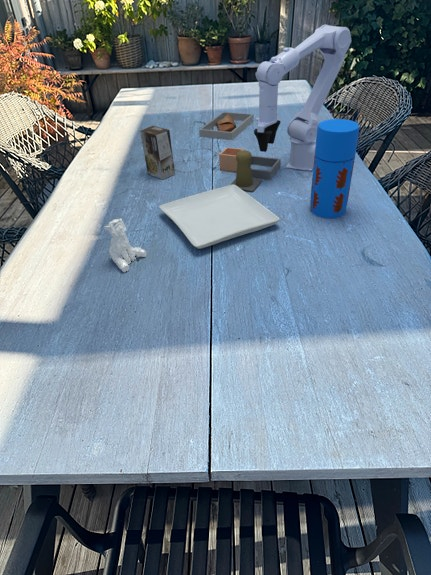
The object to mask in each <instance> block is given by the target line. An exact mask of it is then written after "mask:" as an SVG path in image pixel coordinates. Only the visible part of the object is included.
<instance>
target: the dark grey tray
mask: <svg viewBox="0 0 431 575" xmlns="http://www.w3.org/2000/svg"><path fill="white" fill-rule="evenodd" d="M228 114H230V115H231V117H232V118H233V120H234V121H242V122H241V123H240V124H238V126H237V125H236V128H235V129H234V130H233V131H232V132H225V131H219V130H214V129H213V128H215V127H217V125H216V123H217V122H218V121H220V120H221V119H223V118H224V117H225V116H226V115H228ZM254 116H255V114H254V113H242V112H229V111H222V112H220V113H219V114H218V115H216V116H215V117H214V118H212V119H211V120H210V121H208V122H207V123H206V124H204V125H203V126H202V127H200V128H199V129H198V135H199V137H201V138H209V139H210V138H211V139H218V140H219V139H220V140H229V141H233V140H234V139H235V138H236V137H237V136H238V135H239V134H240V133H242V132H243V131H244V130H245V129H247V127H249V126H250V125H251V124H252V123H253V122H255V121H254Z"/></svg>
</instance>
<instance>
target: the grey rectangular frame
mask: <svg viewBox="0 0 431 575" xmlns="http://www.w3.org/2000/svg"><path fill="white" fill-rule="evenodd" d="M281 160H282V159H281V158H277V157H269V156H268V157H267V156H261V155H259V156H258V155H252V158H251V161H250V165H251V166H252V165H256V166H265V167H270V168H269V170H268V169H261V168H254V167H251V172H252V178H255V179H262V180H266V181H267V180H269V181H270V180H272V178H274V176H275V174H277V172H278V171H279V169H280V168H281V167H282V166H281V164H282V161H281Z"/></svg>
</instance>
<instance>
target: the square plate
mask: <svg viewBox="0 0 431 575" xmlns="http://www.w3.org/2000/svg"><path fill="white" fill-rule="evenodd" d="M158 208H159V209H160V210H161V212H163V213H164V214H165V215H166V217H168V218H169V219H171V220H172V222H173V223H174V224H176V226H177V227H178V228H179V229H180V231H181V232H182V234H184V235H185V237H186V238H187V240H188V241H189V242H190V244H191V245H192V246H193V247H194V248H196V249H204V248H208V247H211V246H214V245H217V244H219V243H222V242H226V241H228V240H231V239H235V238H238V237H241V236H244V235H246V234H250V233H254V232H257V231H261V230H263V229H265V228H268V227H271V226H274V225H276V224H277V223H278V222H280V221H281V219H280V217H279V216H277V215H276V214H275V213H274V212H272V211H271V210H269V209H268V208H267V207H266V206H264V205H263V204H262V203H260V202H259V201H258V200H257V199H255V198H254V197H252V195H250V194H248V193H247V191H243V190H242V189H240V188H239V187H237V186H236V185H230V184H229V185H225V186H221V187H219V188H218V187H217V188H214V189H210V190H206V191H203V192H199V193H196V194H193V195H190V196H189V195H188V196H186V197H182V198H179V199H175V200H173V201H169V202H166V203H162V204H160V205H158Z"/></svg>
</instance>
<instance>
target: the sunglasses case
mask: <svg viewBox="0 0 431 575" xmlns="http://www.w3.org/2000/svg"><path fill="white" fill-rule="evenodd" d="M216 127H217V131H225V132H232V131H233V130H234V129H235V128H236V127H237V125H236V122H235V120H233V118H232V117H231V115H230V114H228V115H226V116H225V117H224V118H223V119H221V120H220V121H218V122H217V123H216Z"/></svg>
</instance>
